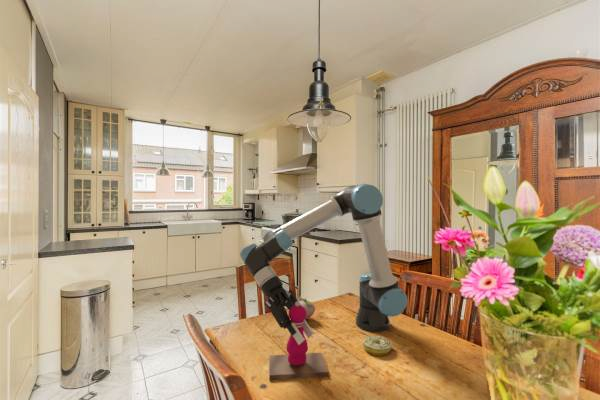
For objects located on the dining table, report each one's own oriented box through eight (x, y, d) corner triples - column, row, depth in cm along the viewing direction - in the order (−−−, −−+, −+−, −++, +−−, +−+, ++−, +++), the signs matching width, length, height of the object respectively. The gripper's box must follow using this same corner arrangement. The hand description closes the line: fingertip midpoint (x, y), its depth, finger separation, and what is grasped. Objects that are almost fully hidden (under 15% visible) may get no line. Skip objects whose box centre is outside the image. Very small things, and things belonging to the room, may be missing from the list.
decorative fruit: (292, 318, 141) (292, 297, 141) (305, 314, 146) (305, 294, 146) (304, 324, 134) (304, 303, 134) (317, 320, 139) (318, 299, 139)
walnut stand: (321, 356, 106) (321, 352, 106) (328, 376, 94) (328, 371, 94) (269, 359, 104) (269, 355, 104) (269, 380, 92) (269, 375, 92)
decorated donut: (396, 349, 112) (396, 340, 112) (383, 361, 104) (383, 350, 104) (372, 340, 119) (372, 331, 119) (358, 350, 111) (358, 340, 111)
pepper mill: (305, 367, 95) (306, 305, 95) (284, 365, 97) (284, 304, 97) (309, 356, 102) (309, 298, 102) (289, 353, 104) (289, 297, 104)
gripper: (278, 282, 116) (313, 334, 106) (245, 294, 101) (283, 356, 91) (289, 270, 113) (326, 323, 103) (257, 281, 98) (297, 344, 88)
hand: (306, 338), depth 97 cm, fingers closed on pepper mill, 5 cm apart
